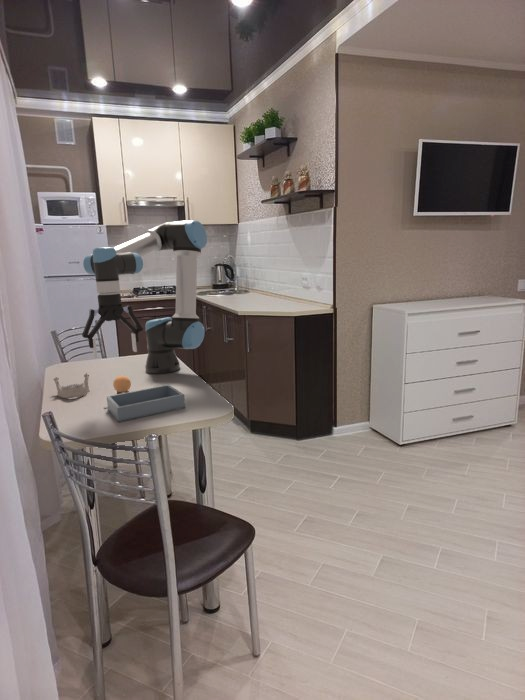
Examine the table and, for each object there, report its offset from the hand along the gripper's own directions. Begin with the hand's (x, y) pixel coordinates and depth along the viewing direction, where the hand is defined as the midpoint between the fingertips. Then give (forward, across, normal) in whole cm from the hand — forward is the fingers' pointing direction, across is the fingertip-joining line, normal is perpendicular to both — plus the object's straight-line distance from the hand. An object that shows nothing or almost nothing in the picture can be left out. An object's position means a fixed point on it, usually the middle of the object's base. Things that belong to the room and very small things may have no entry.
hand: (115, 354), depth 161 cm
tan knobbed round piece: (+17, -1, +1) cm, 17 cm away
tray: (+17, -5, +15) cm, 23 cm away
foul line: (+17, -5, +5) cm, 19 cm away
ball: (+14, -1, +1) cm, 14 cm away
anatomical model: (+17, +13, -19) cm, 29 cm away
